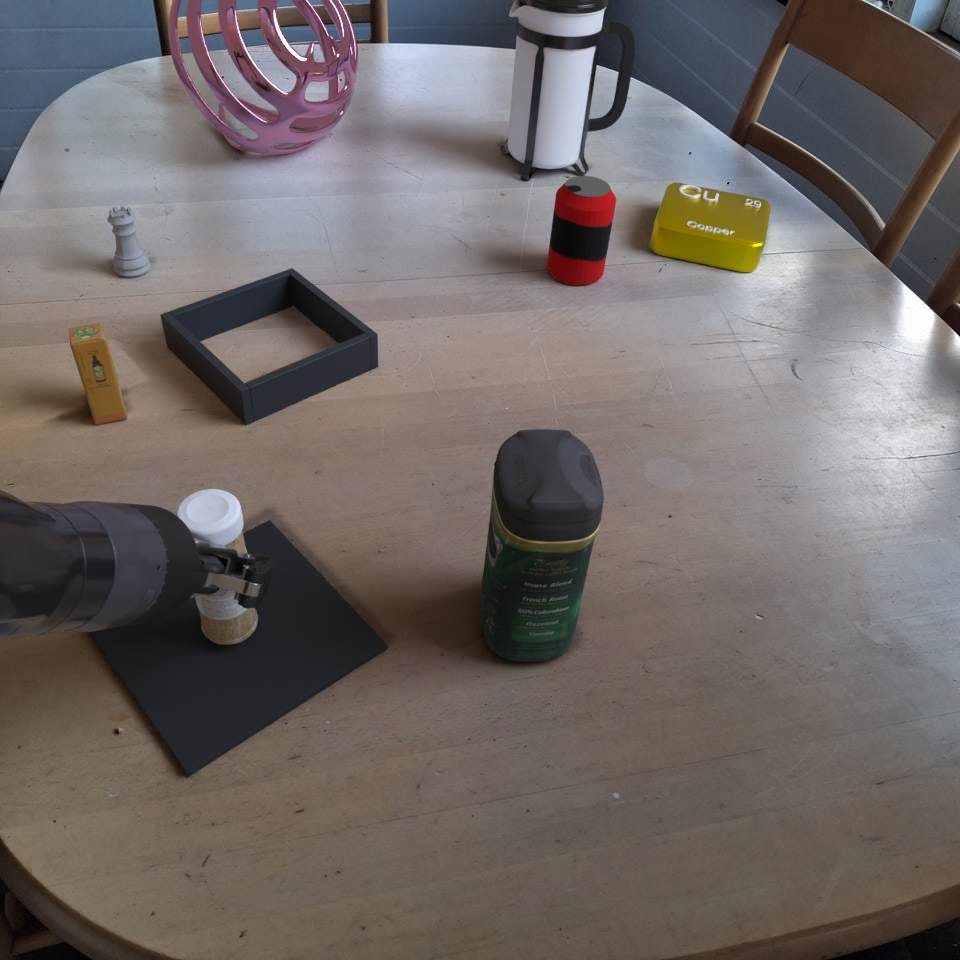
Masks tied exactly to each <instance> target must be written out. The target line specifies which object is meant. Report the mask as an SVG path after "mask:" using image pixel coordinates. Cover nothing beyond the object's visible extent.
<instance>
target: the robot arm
mask: <svg viewBox="0 0 960 960" xmlns="http://www.w3.org/2000/svg"><path fill="white" fill-rule="evenodd" d="M213 554H215V555H216V556H215V555H213ZM236 563H237V564H236ZM235 564H236V567H235V571H234V574H232V571H233V568H234V565H235ZM273 568H274V564H272V563H271V562H269V556H267V555H264V554H260V553H258V554H248V553H245V554H240V553H237V550H235V549H232V548H230V547H227V546H224V545H219V544H211V543H207V542H204V541H201V540H199V539H196V538H194V537H193V535H192V533H191V532H190V530H189V528H188V527H187V526H186V524H185V523H184V522H183V521H182V520H181V519H180V518H179V517H178V516H176V513H173V512H172V511H170V510H168V509H166V508H164V507H160V506H157V505H151V504H141V503H140V504H138V503H126V502H125V503H124V502H111V501H109V502H108V501H96V500H95V501H94V500H83V501H82V500H79V501H71V502H64V503H58V502H56V503H55V502H45V501H44V502H42V501H25V500H22V499H20V498H19V497H17V496H15V495H13V494H11V493H8V492H6V491H4V490H1V489H0V640H12V639H22V638H32V637H38V636H45V635H51V634H57V633H63V632H68V633H89V632H91V631H98V630H104V629H110V628H116V627H122V626H128V625H134V624H140V623H146V622H152V621H156V620H160V619H162V618H164V617H167V616H168V615H170V614H172V613H173V612H175V611H176V610H177V609H178V608H179V607H181V606H182V605H183V604H184V603H185V602H186V601H187V600H188V599H189V598H194V597H196V596H197V595H210V596H223V595H225V594H226V592H227V591H228V590H230V591H233V592H235V596H234V600H237V601H238V604H239V605H241V606H242V607H243V608H247V609H250V608H256V607H257V605H258V604H259V603H260V602H261V601H262V600H263V599H264V598H265V596H266V592H267V589H268V585H269V582H270V578H271V575H272V571H273Z"/></svg>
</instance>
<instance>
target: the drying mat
mask: <svg viewBox="0 0 960 960" xmlns="http://www.w3.org/2000/svg"><path fill="white" fill-rule="evenodd" d="M243 537H244V542H245V547H246V550H247V553H248V554H258V553H260V554H264V555H267V556H269V562H271V563H272V564H274V568H273V571H272V575H271V578H270V582H269V585H268V589H267V592H266V596H265V598H264V599H263V600H262V601H261V602H260V603H259V604H258V605H257V607H256V608H255V610H256V611H257V615H258V624H257V626H256V629H255V631H254V632H253V633H252V634H251V635H250V636H249V637H248V638H247V639H245V640H244V641H242V642H240V643H236V644H231V645H221V644H217V643H214V642H212V641H211V640H209V639H208V638H207V637H206V636H205V635H204V633H203V631H202V628H201V622H202V621H201V617H200V612H199V609H198V607H197V604H196V599H195V597H194V598H189V599H188V600H187V601H186V602H185V603H184V604H183V605H182V606H181V607H179V608H178V609H177V610H176V611H175V612H173V613H172V614H170V615H168V616H167V617H164V618H162V619H160V620H156V621H152V622H146V623H140V624H134V625H128V626H122V627H116V628H110V629H104V630H98V631H91V632H88V633H89V635H90V636H91V638H92V640H93V641H94V642H95V644H96V645H97V647H98V648H99V649H100V651H101V653H102V654H103V655H104V657H105V658H106V660H107V661H108V663H109V664H110V666H111V667H112V668H113V670H114V671H115V673H116V674H117V675H118V677H119V678H120V680H121V681H122V683H123V684H124V686H125V687H126V689H127V690H128V692H129V693H130V695H131V696H132V698H133V699H134V701H135V702H136V703H137V705H138V706H139V707H140V709H141V710H142V712H143V713H144V715H145V716H146V718H147V720H148V721H149V722H150V724H151V725H152V727H153V728H154V729H155V731H156V732H157V734H158V736H159V737H160V739H161V740H162V741H163V743H164V744H165V746H166V747H167V749H168V750H169V751H170V753H171V754H172V756H173V757H174V759H175V760H176V762H177V763H178V765H179V766H180V768H181V769H182V770H183V772H184V773H185V775H186V776H187V777H188V778H189V777H191V776H193V775H194V774H196V773H198V772H199V771H200V770H202V769H203V768H205V767H207V766H208V765H209V764H211V763H213V762H214V761H216V760H218V759H219V758H221V757H222V756H223V755H226V754H227V753H228V752H230V751H231V750H233V749H235V748H236V747H237V746H239V745H241V744H242V743H243V742H246V741H247V740H248V739H250V738H252V737H253V736H255V735H256V734H258V733H259V732H261V731H262V730H264V729H266V728H267V727H268V726H270V725H272V724H273V723H275V722H276V721H278V720H279V719H281V718H283V717H284V716H286V715H287V714H289V713H290V712H292V711H293V710H295V709H297V708H298V707H300V706H301V705H303V704H304V703H306V702H308V701H309V700H310V699H312V698H313V697H316V695H318V694H320V693H322V692H323V691H325V690H326V689H327V688H329V687H331V686H332V685H334V684H335V683H337V682H338V681H340V680H341V679H343V678H344V677H346V676H348V675H350V674H351V673H352V672H354V671H355V670H357V669H358V668H360V667H362V666H364V665H365V664H366V663H368V662H369V661H371V660H372V659H374V658H376V657H377V656H378V655H380V654H383V653H384V652H385V651H387V650H388V646H389V645H388V644H387V642H386V641H385V640H384V639H383V638H382V637H381V636H380V634H378V632H377V631H376V630H374V628H372V626H370V624H369V622H367V621H366V620H365V619H364V618H363V617H362V616H361V615H360V613H358V612H357V610H356V609H355V608H354V607H353V606H352V605H351V604H350V603H349V602H348V601H347V600H346V599H345V597H344V596H343V595H341V593H339V591H338V590H336V588H335V587H334V586H333V585H332V584H331V583H330V582H329V581H328V580H327V579H326V578H325V577H324V576H323V575H322V574H321V572H319V570H318V569H317V568H316V567H315V566H314V565H313V564H312V563H311V562H310V561H309V559H307V558H306V556H305V555H304V554H302V552H301V551H300V550H299V549H298V548H297V547H296V546H295V545H294V544H293V543H292V541H290V540H289V539H288V538H287V536H286V535H285V534H284V533H283V532H282V531H281V530H280V529H279V528H278V527H277V526H276V525H275V524H274V523H273V522H272V520H270V519H268V520H266V521H264V522H263V523H260V524H258V525H257V526H254V527H253V528H250V529H248V530H247V531H245V532H243Z"/></svg>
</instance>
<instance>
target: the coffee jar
mask: <svg viewBox="0 0 960 960" xmlns="http://www.w3.org/2000/svg"><path fill="white" fill-rule="evenodd" d="M495 458H496V459H495V461H494V463H493V466H494V467H493V475H492V487H491V488H492V489H491V501H490V513H489V521H488V529H487V538H486V546H485V555H484V561H483V562H484V563H483V570H482V577H481V586H480V598H479V599H480V603H479V605H480V606H479V607H480V619H481V626H482V629H483V630H482V631H483V633H484V637H485V640H486V643H487V645H488V647H489V648H490V650H491V651H492V652H493V653H494V654H495V655H497V656H498V657H500V658H502V659H504V660H508V661H512V662H519V663H539V662H548V661H552V660H556V659H558V658H560V657H562V656H563V655H565V654H566V653H567V652H568V651H570V649H571V647H572V645H573V642H574V638H575V633H576V630H577V624H578V619H579V615H580V609H581V603H582V598H583V595H584V590H585V584H586V580H587V575H588V571H589V566H590V562H591V557H592V551H593V548H594V543H595V540H596V537H597V534H598V532H599V530H600V527H601V521H602V515H603V508H604V507H603V506H604V501H605V500H604V499H605V496H604V489H603V484H602V483H603V482H602V477H601V474H600V471H599V468H598V465H597V463H596V460H595V457H594V454H593V453H592V451H591V449H590V448H589V447H588V445H586V444H585V442H583V441H582V440H581V439H580V438H578V436H576V435H574V434H572V433H571V431H570V430H566V429H548V428H547V429H546V428H538V429H537V428H535V429H533V428H532V429H531V428H530V429H520V430H518V431H516V433H514V434H512V435H511V436H509V437H508V438H507V439H506V440H505V441H503V442H502V444H501V445H500V446H499V448H498V451H497V454H496V457H495Z"/></svg>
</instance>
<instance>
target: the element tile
mask: <svg viewBox="0 0 960 960" xmlns="http://www.w3.org/2000/svg"><path fill="white" fill-rule="evenodd" d="M771 208H772V207H771V204H770V203H769V201H768V200H766V199H764V198H760V197H755V196H749V195H745V194H739V193H734V192H729V191H724V190H719V189H713V188H709V187H703V186H698V185H693V184H688V183H682V182H672V183H669V184H668V185H667V186H666V188H665V191H664V194H663V197H662V200H661V201H660V205H659V208H658V210H657V213H656V216H655V219H654V222H653V227H652V232H651V237H650V241H649V248H650V250H651V251H652V252H653V253H654V254H657V255H659V256H663V257H666V258H670V259H675V260H681V261H686V262H691V263H695V264H700V265H705V266H709V267H715V268H718V269H724V270H729V271H732V272H733V271H734V272H739V273H751V272H754V271H756V270H757V269H758V267H759V265H760V262H761V261H760V260H761V258H762V255H763V252H764V249H765V244H766V240H767V235H768V228H769V223H770V222H769V221H770V214H771Z"/></svg>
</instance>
